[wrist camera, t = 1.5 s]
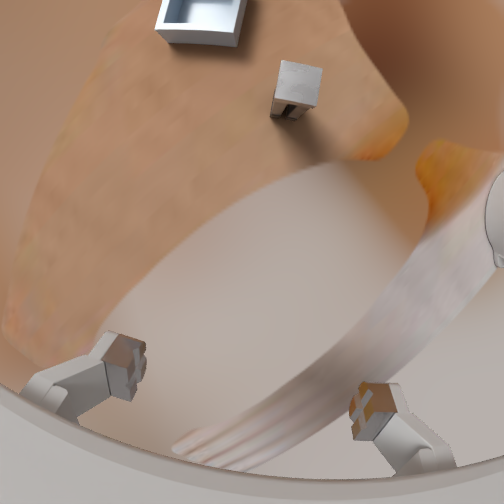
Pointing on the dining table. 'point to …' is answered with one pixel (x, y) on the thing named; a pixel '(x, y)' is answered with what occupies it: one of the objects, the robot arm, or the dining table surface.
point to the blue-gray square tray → (201, 21)
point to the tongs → (295, 90)
